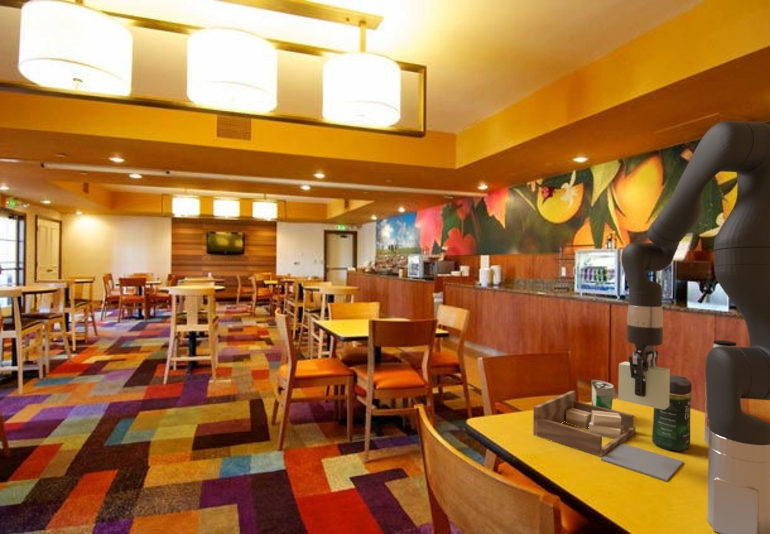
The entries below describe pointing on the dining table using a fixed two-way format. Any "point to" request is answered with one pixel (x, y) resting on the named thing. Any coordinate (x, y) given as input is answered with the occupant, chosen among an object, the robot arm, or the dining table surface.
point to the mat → (643, 461)
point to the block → (654, 387)
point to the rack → (551, 428)
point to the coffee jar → (674, 417)
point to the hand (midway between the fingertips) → (643, 393)
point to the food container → (602, 394)
